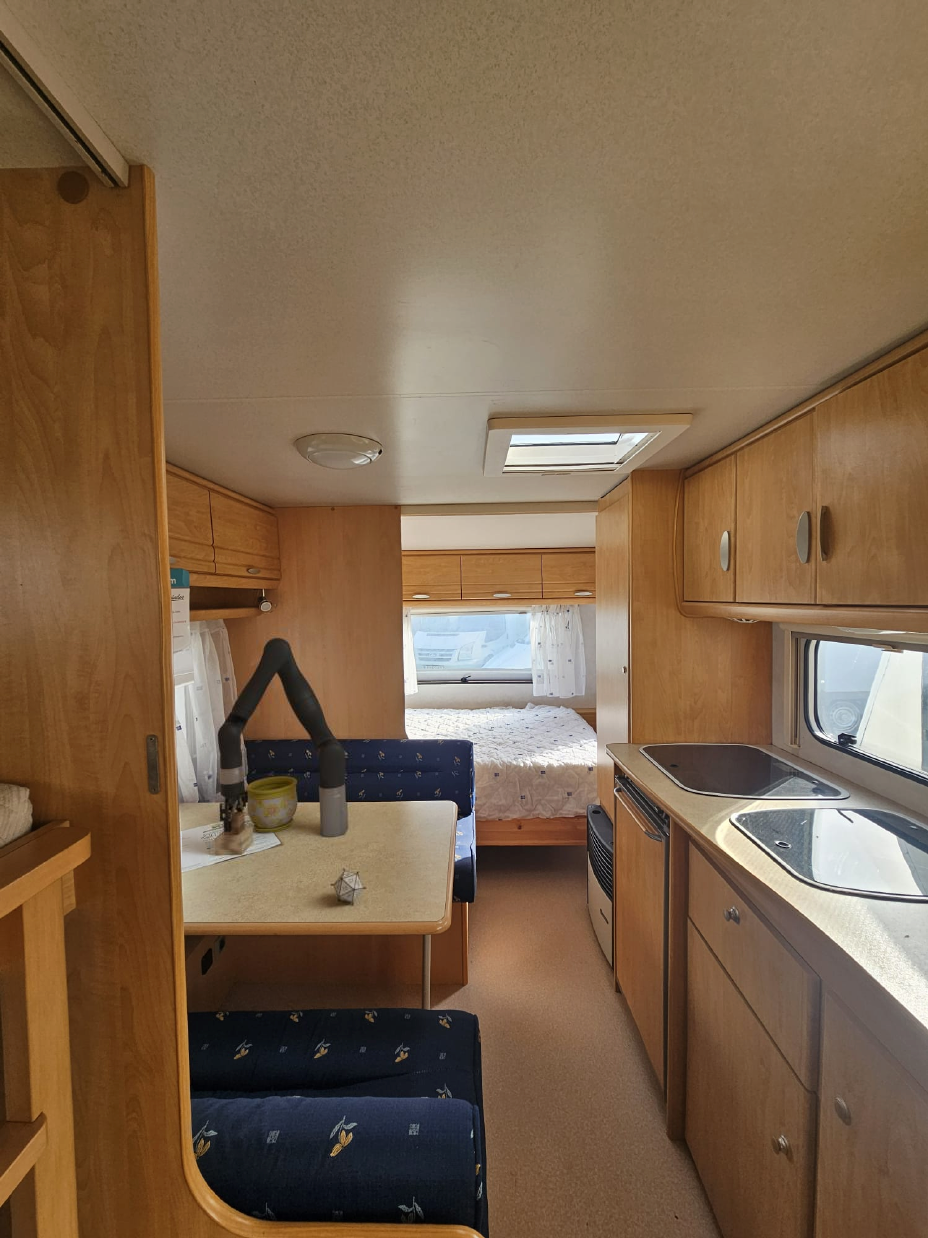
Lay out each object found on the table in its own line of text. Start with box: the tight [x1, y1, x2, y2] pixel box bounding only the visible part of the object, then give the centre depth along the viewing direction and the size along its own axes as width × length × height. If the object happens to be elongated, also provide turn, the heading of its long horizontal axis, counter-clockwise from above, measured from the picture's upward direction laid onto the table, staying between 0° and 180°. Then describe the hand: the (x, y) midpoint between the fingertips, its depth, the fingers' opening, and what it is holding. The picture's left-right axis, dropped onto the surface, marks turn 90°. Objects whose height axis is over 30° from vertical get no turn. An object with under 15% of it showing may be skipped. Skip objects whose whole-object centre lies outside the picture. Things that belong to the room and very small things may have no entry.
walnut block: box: [222, 811, 246, 835], centre depth 179 cm, size 5×5×6 cm
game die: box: [329, 867, 367, 906], centre depth 143 cm, size 9×8×10 cm
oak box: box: [214, 826, 254, 857], centre depth 179 cm, size 9×9×6 cm
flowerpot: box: [245, 775, 298, 834], centre depth 198 cm, size 18×18×16 cm
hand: (234, 826), depth 179 cm, fingers open, 8 cm apart
